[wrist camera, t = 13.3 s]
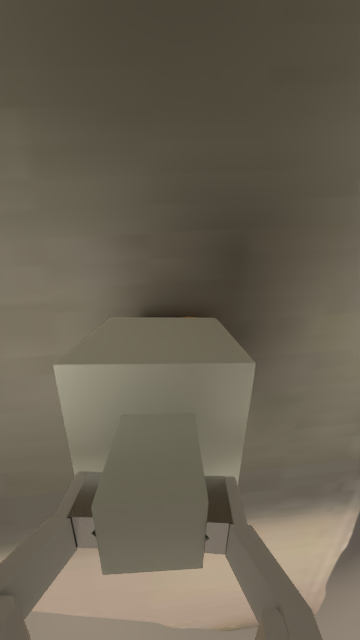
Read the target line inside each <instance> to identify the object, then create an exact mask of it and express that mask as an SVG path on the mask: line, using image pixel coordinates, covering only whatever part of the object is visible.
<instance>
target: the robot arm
mask: <svg viewBox="0 0 360 640" xmlns="http://www.w3.org/2000/svg"><path fill="white" fill-rule="evenodd" d="M102 473H103V472H90V471H79V472H78V473H77V474H76V475H75V477H74V479H73V481H72V483H71V484H70V486H69V488H68V490H67V492H66V494H65V496H64V498H63V499H62V501H61V503H60V505H59V507H58V509H57V511H56V513H55V515H54V516H53V517H49V518H48V519H47V520H46V521H45V522H44V523H43V524H42V525H41V526H40V527H38V528H37V529H36V530H35V531H34V532H33V533H32V534H31V535H30V536H29V537H28V538H27V539H26V540H25V541H24V542H23V543H22V544H20V545H19V546H18V547H17V548H16V549H15V550H14V551H13V552H12V553H11V554H10V555H9V556H8V557H7V558H6V559H5V560H3V561H2V562H1V563H0V640H30V634H29V631H28V629H27V627H26V624H25V621H24V619H25V618H26V617H27V615H28V614H29V613H30V611H31V610H32V609H33V607H34V606H35V605H36V603H37V602H38V601H39V599H40V598H41V597H42V595H43V594H44V593H45V591H46V590H47V589H48V587H49V586H50V585H51V583H52V582H53V581H54V579H55V578H56V577H57V575H58V574H59V573H60V571H61V570H62V569H63V567H64V566H65V565H66V563H67V562H68V561H69V559H70V558H71V557H72V555H73V554H74V553H75V551H76V550H77V548H98V544H97V538H96V533H95V527H94V521H93V515H92V509H91V506H92V503H93V500H94V497H95V494H96V491H97V488H98V485H99V482H100V479H101V476H102ZM205 482H206V489H207V495H208V501H209V502H208V513H207V521H206V535H205V543H204V553H213V554H225V555H226V558H227V560H228V562H229V564H230V566H231V568H232V570H233V572H234V574H235V576H236V578H237V580H238V582H239V584H240V586H241V588H242V590H243V592H244V594H245V596H246V598H247V600H248V602H249V605H250V607H251V609H252V611H253V613H254V615H255V617H256V619H257V621H258V623H259V626H258V630H257V633H256V637H255V640H323V639H322V637H321V634H320V631H319V629H318V626H317V623H316V621H315V618H314V615H313V612H312V610H311V608H310V607H309V605H308V604H307V603H306V601H305V600H304V598H303V597H302V596H301V594H300V593H299V591H298V590H297V589H296V587H295V586H294V584H293V583H292V582H291V580H290V579H289V577H288V576H287V575H286V573H285V572H284V570H283V569H282V568H281V566H280V565H279V563H278V562H277V561H276V559H275V558H274V556H273V555H272V554H271V552H270V551H269V549H268V548H267V547H266V545H265V544H264V542H263V541H262V540H261V538H260V537H259V535H258V534H257V533H256V531H255V530H254V528H253V527H252V526H251V525H247V521H246V517H245V513H244V509H243V505H242V501H241V497H240V493H239V489H238V485H237V481H236V479H235V477H226V476H205Z"/></svg>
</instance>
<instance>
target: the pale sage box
mask: <svg viewBox="0 0 360 640" xmlns="http://www.w3.org/2000/svg"><path fill="white" fill-rule="evenodd" d="M53 367H54V373H55V378H56V383H57V388H58V393H59V398H60V403H61V408H62V413H63V419H64V424H65V429H66V434H67V439H68V444H69V449H70V454H71V459H72V464H73V470H74V475H76V474H77V473H78V472H79V471H90V472H103V473H102V476H101V479H100V482H99V485H98V488H97V491H96V494H95V497H94V500H93V503H92V506H91V509H92V515H93V521H94V527H95V533H96V538H97V544H98V550H99V556H100V562H101V567H102V573H103V575H108V574H123V573H137V572H152V571H167V570H182V569H197V568H203V557H204V543H205V535H206V521H207V513H208V502H209V501H208V495H207V489H206V482H205V476H226V477H235V479H236V481H237V485H238V479H239V473H240V466H241V459H242V453H243V446H244V440H245V433H246V426H247V420H248V413H249V406H250V400H251V393H252V387H253V380H254V373H255V367H256V363H255V361H254V360H253V359H252V358H251V357H250V356H249V355H248V354H247V352H246V351H245V350H244V349H243V348H242V347H241V346H240V344H239V343H238V342H237V341H236V340H235V339H234V338H233V337H232V335H231V334H230V333H229V332H228V331H227V330H226V329H225V328H224V326H223V325H222V324H221V323H220V322H219V321H218V320H217V319H216V318H159V317H110V318H108V319H107V320H106V321H105V322H104V323H102V324H101V325H100V326H99V327H98V328H96V329H95V330H94V331H93V332H92V333H90V334H89V335H88V336H87V337H86V338H84V339H83V340H82V341H81V342H80V343H79V344H77V345H76V346H75V347H74V348H73V349H71V350H70V351H69V352H68V353H67V354H65V355H64V356H63V357H62V358H61V359H59V360H58V361H57V362H56V363H55V364H53Z"/></svg>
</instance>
